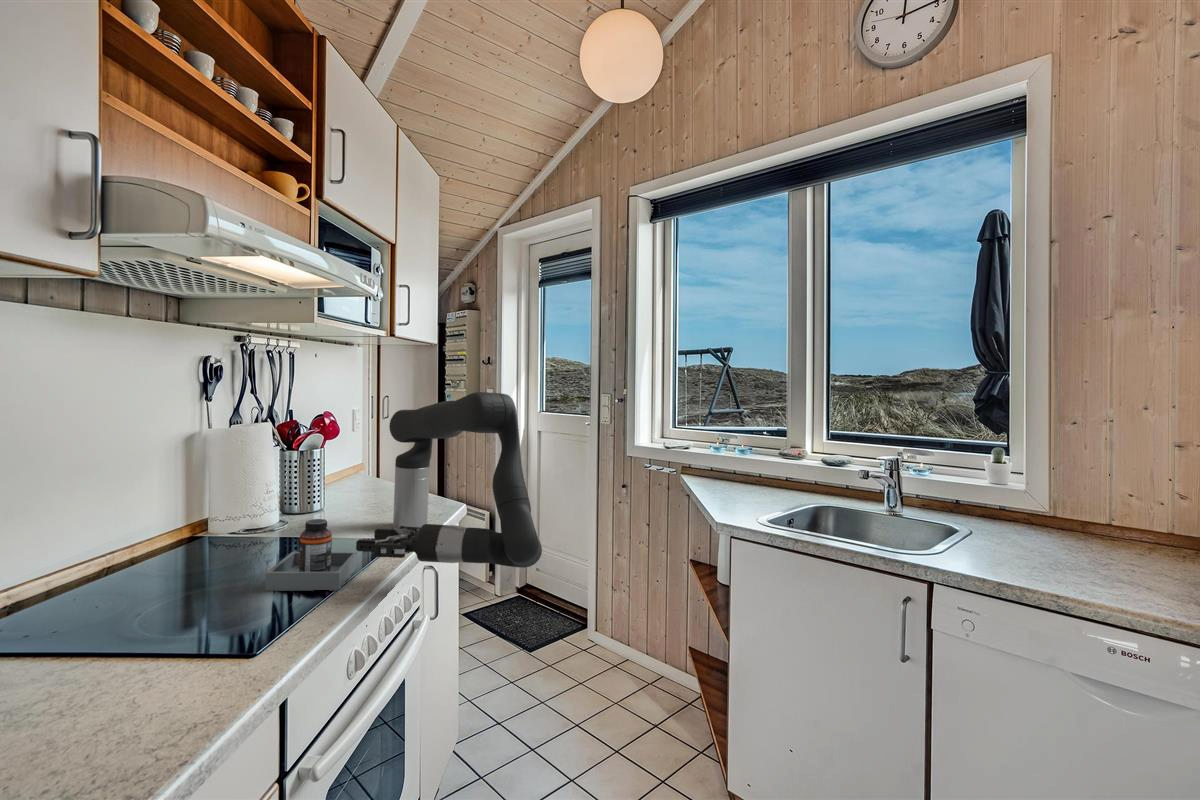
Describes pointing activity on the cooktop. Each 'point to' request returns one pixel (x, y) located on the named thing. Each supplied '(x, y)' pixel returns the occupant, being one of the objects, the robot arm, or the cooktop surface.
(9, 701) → the cooktop surface
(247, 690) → the cooktop surface
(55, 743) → the cooktop surface
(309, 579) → the tray
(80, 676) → the cooktop surface
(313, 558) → the supplement bottle
